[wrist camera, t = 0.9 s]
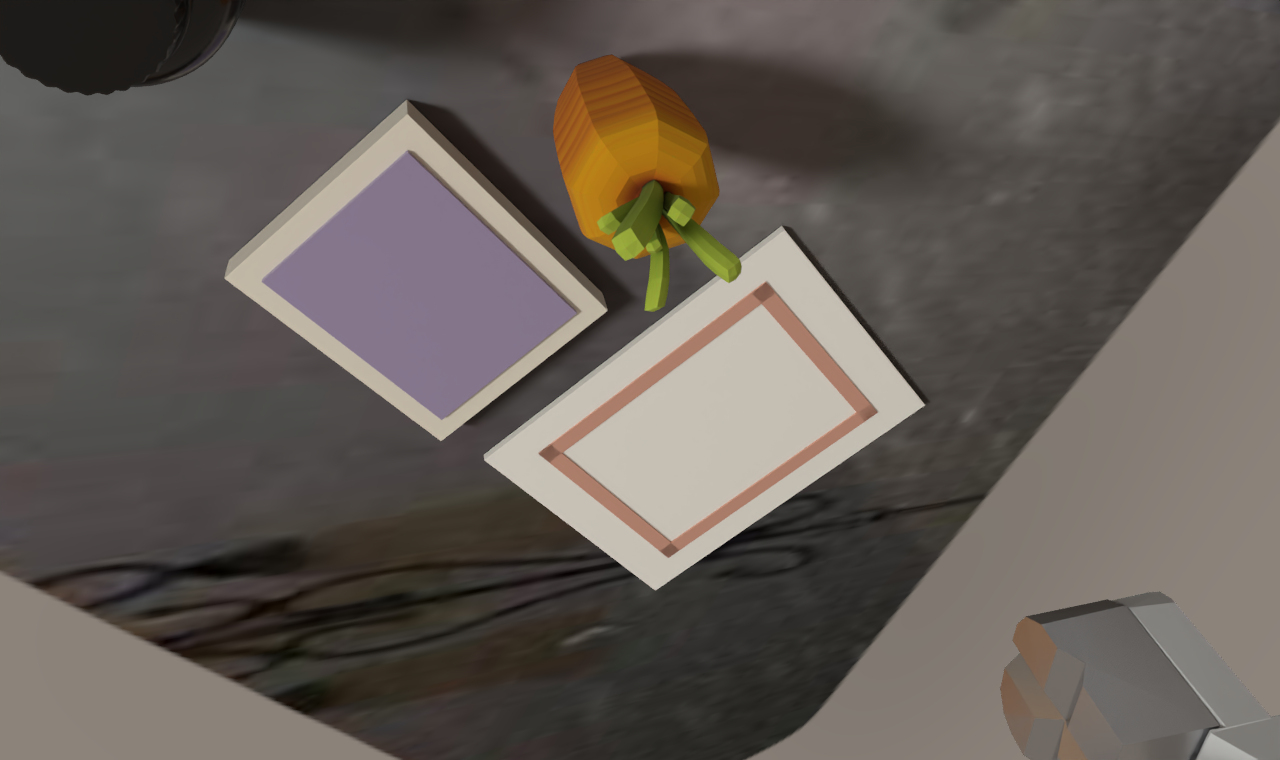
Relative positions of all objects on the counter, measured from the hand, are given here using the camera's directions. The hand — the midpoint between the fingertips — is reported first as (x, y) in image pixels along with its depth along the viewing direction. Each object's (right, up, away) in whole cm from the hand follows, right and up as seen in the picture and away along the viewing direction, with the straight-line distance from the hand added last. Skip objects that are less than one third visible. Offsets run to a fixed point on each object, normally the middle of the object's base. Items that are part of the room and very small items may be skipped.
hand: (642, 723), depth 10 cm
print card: (+4, +1, +41) cm, 41 cm away
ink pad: (-9, +8, +33) cm, 35 cm away
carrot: (-2, +16, +30) cm, 33 cm away
